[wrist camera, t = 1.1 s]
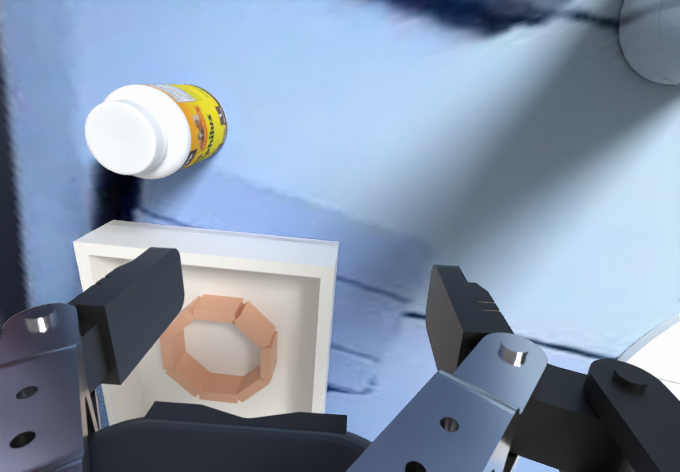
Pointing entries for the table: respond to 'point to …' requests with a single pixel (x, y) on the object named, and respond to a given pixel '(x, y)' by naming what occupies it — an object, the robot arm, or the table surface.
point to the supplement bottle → (155, 129)
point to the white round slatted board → (659, 353)
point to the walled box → (227, 320)
